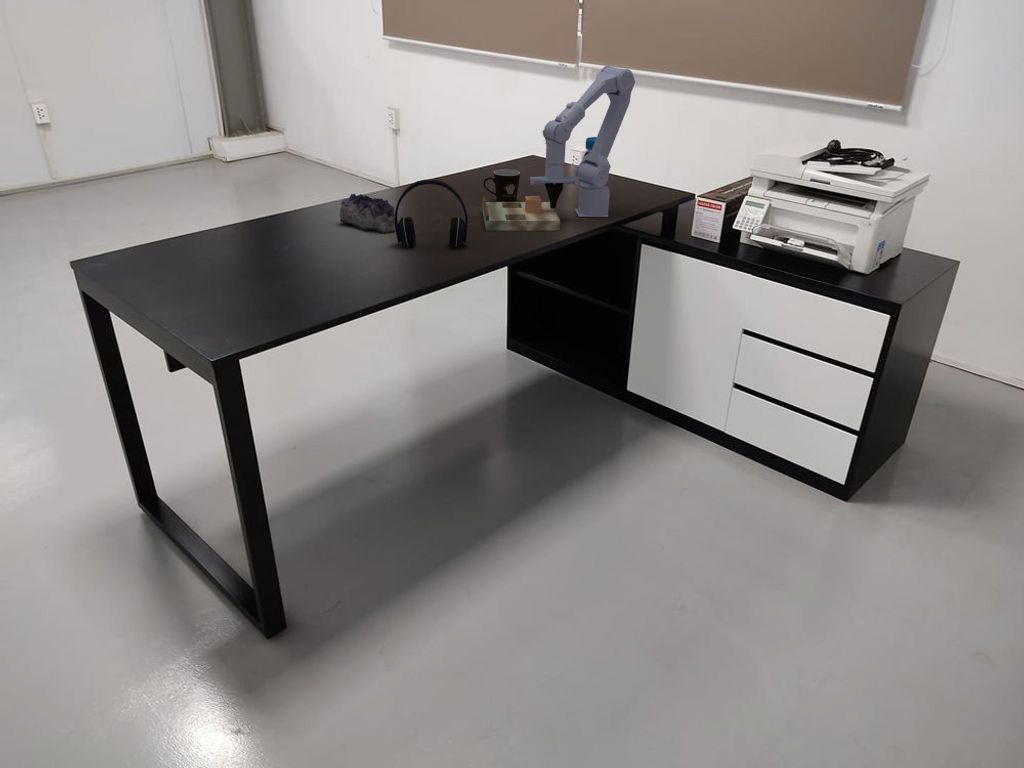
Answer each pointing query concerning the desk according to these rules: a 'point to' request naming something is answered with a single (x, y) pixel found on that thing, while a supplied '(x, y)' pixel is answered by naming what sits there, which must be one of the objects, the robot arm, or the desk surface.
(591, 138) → the beverage bottle
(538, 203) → the block
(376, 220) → the geode
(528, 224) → the trap board
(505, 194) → the coffee mug
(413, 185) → the headphones
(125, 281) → the desk surface
